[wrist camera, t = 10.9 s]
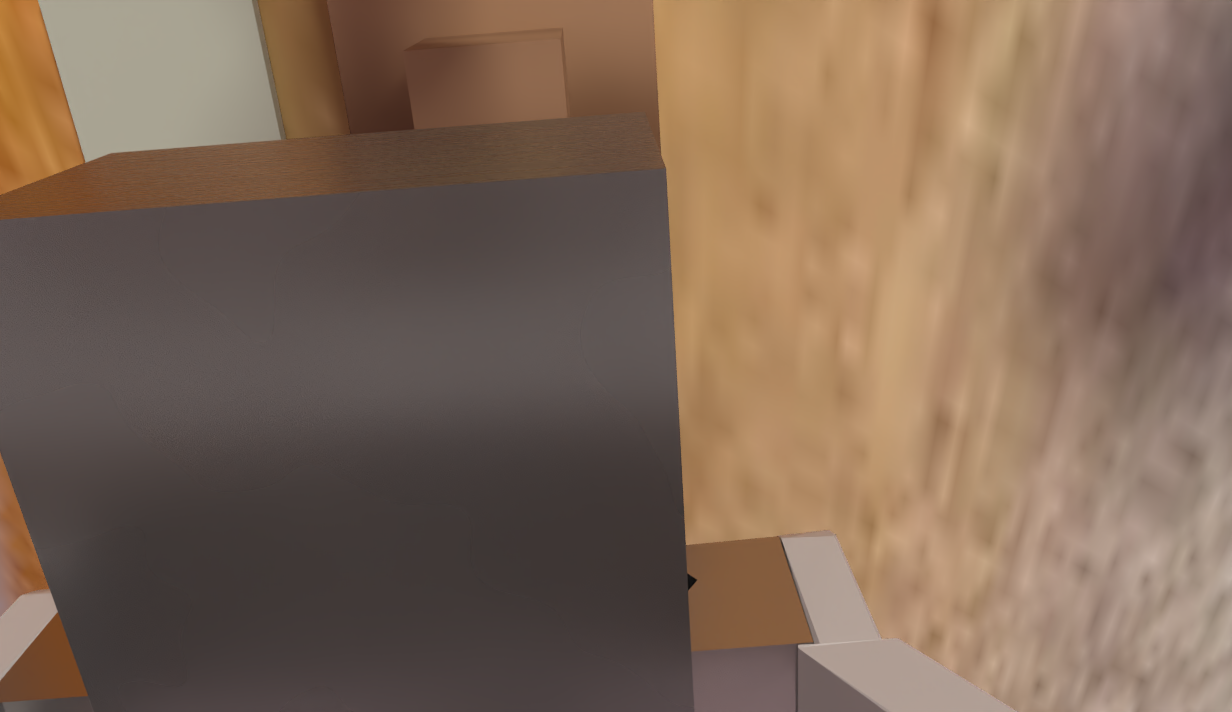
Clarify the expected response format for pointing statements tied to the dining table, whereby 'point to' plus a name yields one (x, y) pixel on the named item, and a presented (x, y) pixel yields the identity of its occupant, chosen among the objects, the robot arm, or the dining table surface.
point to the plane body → (493, 61)
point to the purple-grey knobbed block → (355, 421)
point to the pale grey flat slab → (163, 73)
